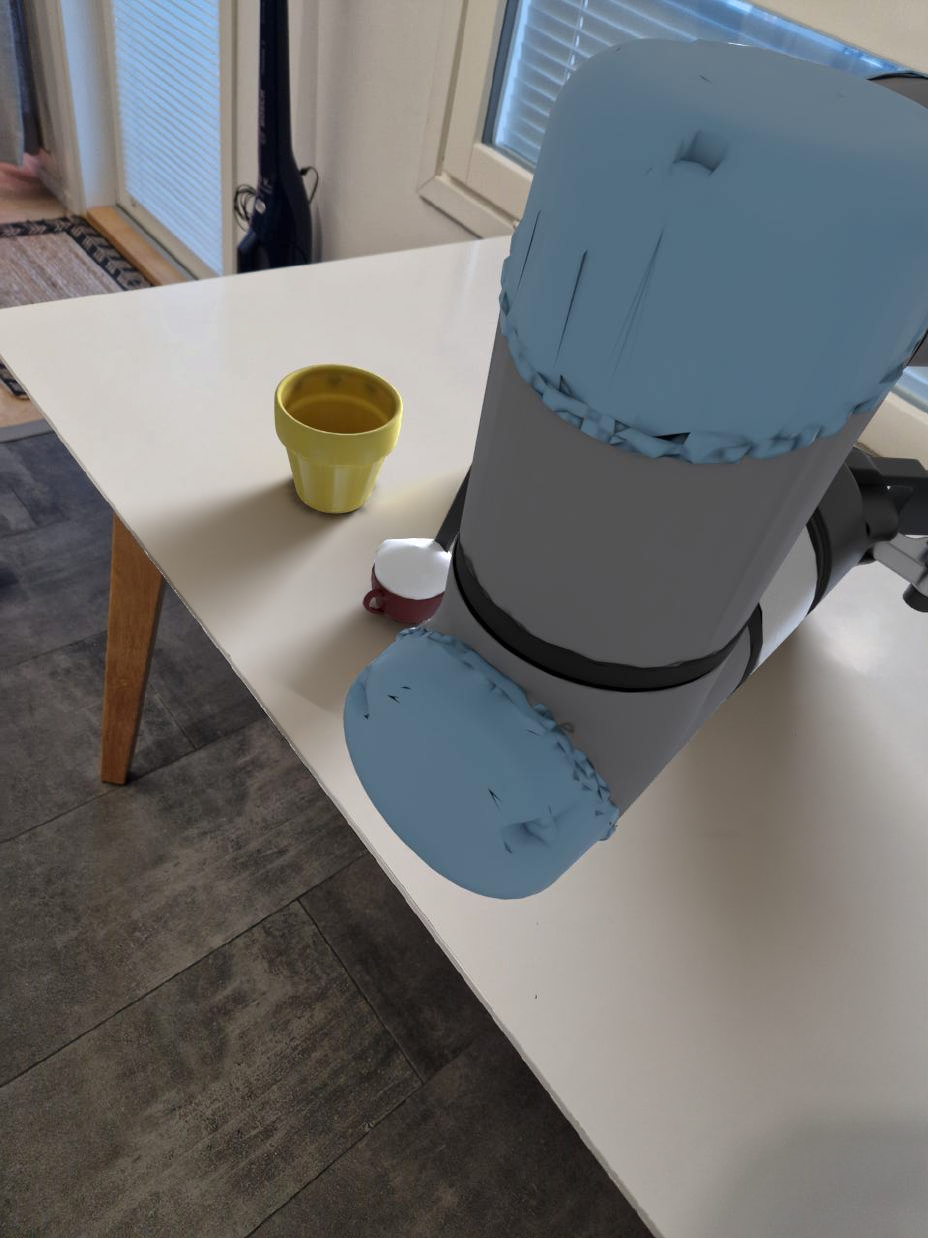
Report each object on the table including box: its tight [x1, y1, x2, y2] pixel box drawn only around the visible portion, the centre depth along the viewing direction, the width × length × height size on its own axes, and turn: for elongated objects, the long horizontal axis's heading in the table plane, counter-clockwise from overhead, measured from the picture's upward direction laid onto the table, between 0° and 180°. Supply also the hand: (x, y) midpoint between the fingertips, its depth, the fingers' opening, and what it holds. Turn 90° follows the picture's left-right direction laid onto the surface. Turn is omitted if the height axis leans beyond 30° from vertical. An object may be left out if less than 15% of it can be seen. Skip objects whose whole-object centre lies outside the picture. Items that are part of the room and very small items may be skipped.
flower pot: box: [273, 363, 404, 514], centre depth 74 cm, size 10×10×10 cm
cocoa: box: [362, 462, 472, 624], centre depth 65 cm, size 10×6×12 cm, turn 109°
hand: (927, 372), depth 43 cm, fingers open, 13 cm apart
